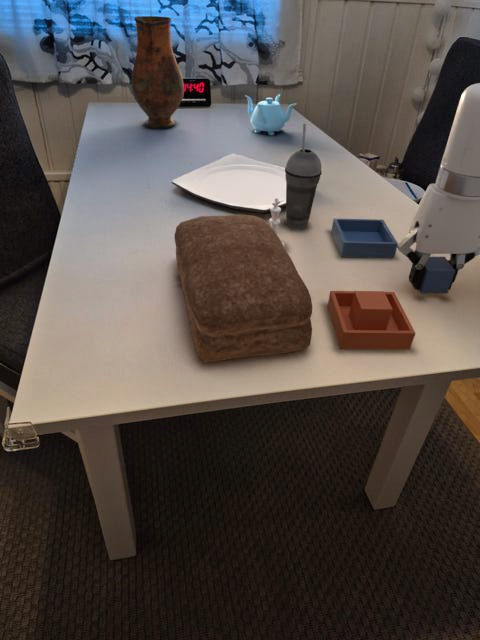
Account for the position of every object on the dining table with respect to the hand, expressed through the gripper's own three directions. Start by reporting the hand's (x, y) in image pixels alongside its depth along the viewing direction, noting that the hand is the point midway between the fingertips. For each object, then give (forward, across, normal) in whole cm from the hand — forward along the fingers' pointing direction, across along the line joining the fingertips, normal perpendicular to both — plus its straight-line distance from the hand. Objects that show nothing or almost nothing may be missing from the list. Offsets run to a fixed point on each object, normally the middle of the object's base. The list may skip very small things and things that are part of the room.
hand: (429, 284), depth 75 cm
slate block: (0, 0, 0) cm, 0 cm away
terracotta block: (0, +13, +10) cm, 17 cm away
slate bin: (+1, +8, -16) cm, 18 cm away
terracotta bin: (+1, +13, +10) cm, 17 cm away
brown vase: (0, +57, -99) cm, 114 cm away
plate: (+1, +30, -43) cm, 52 cm away
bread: (+1, +33, +4) cm, 33 cm away
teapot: (+1, +21, -93) cm, 95 cm away
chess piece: (+1, +26, -14) cm, 29 cm away
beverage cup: (+1, +20, -24) cm, 31 cm away
